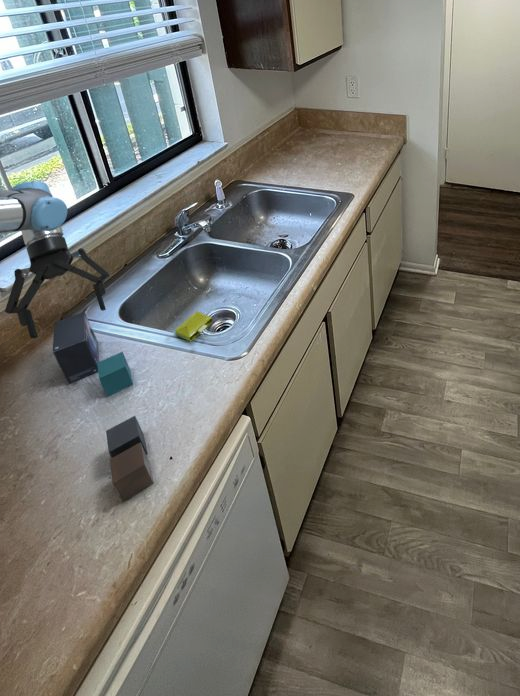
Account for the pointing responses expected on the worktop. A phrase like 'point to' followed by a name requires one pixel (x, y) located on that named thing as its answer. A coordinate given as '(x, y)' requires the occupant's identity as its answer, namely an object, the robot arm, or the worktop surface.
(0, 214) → the robot arm
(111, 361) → the teal block
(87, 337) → the small box
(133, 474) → the walnut block
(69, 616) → the worktop surface
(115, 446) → the charcoal block
